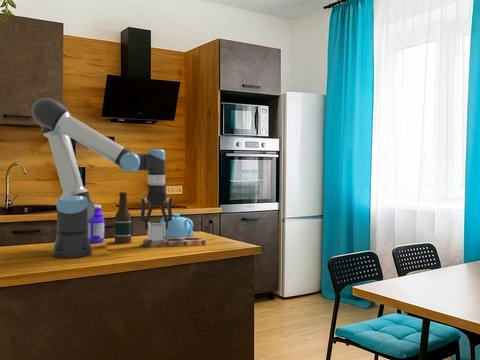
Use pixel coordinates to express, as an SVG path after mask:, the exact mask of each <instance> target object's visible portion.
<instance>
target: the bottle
mask: <svg viewBox="0 0 480 360" xmlns="http://www.w3.org/2000/svg"><path fill="white" fill-rule="evenodd" d="M94 206H95V212H94V215H93V217H92V219H91V220H90V221H88V238H89V241H90V244H91V243H92V244H98V243H103V242H104V240H105V219H104V217H103V215H104V213H103V211H102V205H100V204H94Z"/></svg>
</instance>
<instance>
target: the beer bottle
mask: <svg viewBox="0 0 480 360" xmlns="http://www.w3.org/2000/svg"><path fill="white" fill-rule="evenodd" d="M118 194H119V203H118V209H117V212H116V213H115V216H114V244H119V245H121V244H123V245H124V244H131V243H132V216H131V212H130V211H129V209H128V200H127V199H128V198H127V197H128V193H127V192H126V191H120V192H119V193H118Z"/></svg>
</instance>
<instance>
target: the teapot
mask: <svg viewBox="0 0 480 360" xmlns="http://www.w3.org/2000/svg"><path fill="white" fill-rule="evenodd" d="M163 222H164V218H163V217H162V218H161V219H160V221H159V223H161V224H162V225H163ZM193 227H194V223H193V221H192V220H191V219H190V218H189V217H182V216H180V213H172V220H170V221H168V229H165V237H163V239H166V238H184V237H194V235H195V231H193Z"/></svg>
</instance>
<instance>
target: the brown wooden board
mask: <svg viewBox="0 0 480 360" xmlns="http://www.w3.org/2000/svg"><path fill="white" fill-rule="evenodd" d="M142 245H143V246H144V247H145V248H148V249H150V248H170V247H171V248H172V247H190V246H204V247H206V240H205V239H204V238H203V237H200V236H191V237H184V238H166V239H165V238H163V242H150V238H148V239H147V238H146V239H145V238H144V239H142Z"/></svg>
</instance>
